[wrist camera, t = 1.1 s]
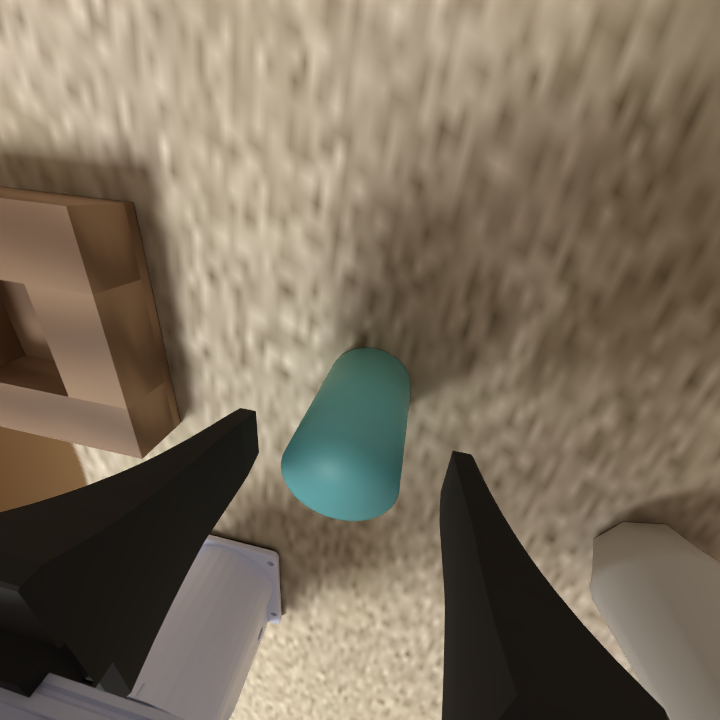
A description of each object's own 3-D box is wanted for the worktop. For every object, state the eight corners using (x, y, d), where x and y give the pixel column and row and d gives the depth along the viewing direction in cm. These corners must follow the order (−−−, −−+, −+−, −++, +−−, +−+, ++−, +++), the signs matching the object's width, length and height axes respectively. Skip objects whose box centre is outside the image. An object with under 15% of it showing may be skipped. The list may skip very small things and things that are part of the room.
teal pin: (404, 425, 17) (390, 531, 12) (327, 410, 17) (282, 506, 12) (417, 355, 15) (408, 445, 10) (331, 341, 16) (279, 419, 10)
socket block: (180, 423, 20) (142, 458, 17) (11, 387, 22) (-48, 415, 19) (133, 202, 14) (65, 206, 12) (-92, 175, 16) (-196, 173, 13)
